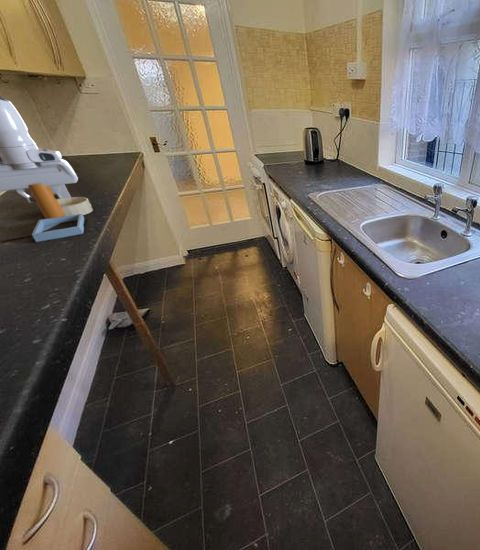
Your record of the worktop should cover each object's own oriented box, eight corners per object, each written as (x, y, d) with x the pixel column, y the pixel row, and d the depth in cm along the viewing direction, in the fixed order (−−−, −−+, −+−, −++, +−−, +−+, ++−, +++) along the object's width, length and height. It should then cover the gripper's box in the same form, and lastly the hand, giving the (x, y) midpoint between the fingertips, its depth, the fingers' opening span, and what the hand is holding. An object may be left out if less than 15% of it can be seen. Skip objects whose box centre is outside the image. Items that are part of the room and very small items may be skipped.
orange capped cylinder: (44, 219, 97) (16, 172, 89) (46, 215, 100) (19, 169, 92) (64, 216, 99) (38, 170, 91) (65, 212, 103) (41, 167, 95)
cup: (65, 209, 119) (52, 184, 114) (42, 210, 118) (27, 185, 113) (79, 203, 127) (67, 179, 121) (57, 204, 125) (44, 180, 120)
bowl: (46, 223, 107) (39, 210, 105) (51, 213, 116) (44, 200, 113) (93, 216, 114) (87, 203, 112) (94, 207, 123) (88, 195, 120)
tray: (36, 242, 94) (31, 234, 93) (42, 226, 104) (38, 219, 103) (83, 233, 100) (79, 226, 99) (85, 220, 110) (81, 213, 109)
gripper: (-34, 161, 82) (-2, 209, 89) (64, 154, 93) (85, 197, 100) (-27, 157, 86) (3, 203, 93) (66, 151, 97) (86, 193, 104)
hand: (46, 200), depth 97 cm, fingers closed on orange capped cylinder, 5 cm apart
